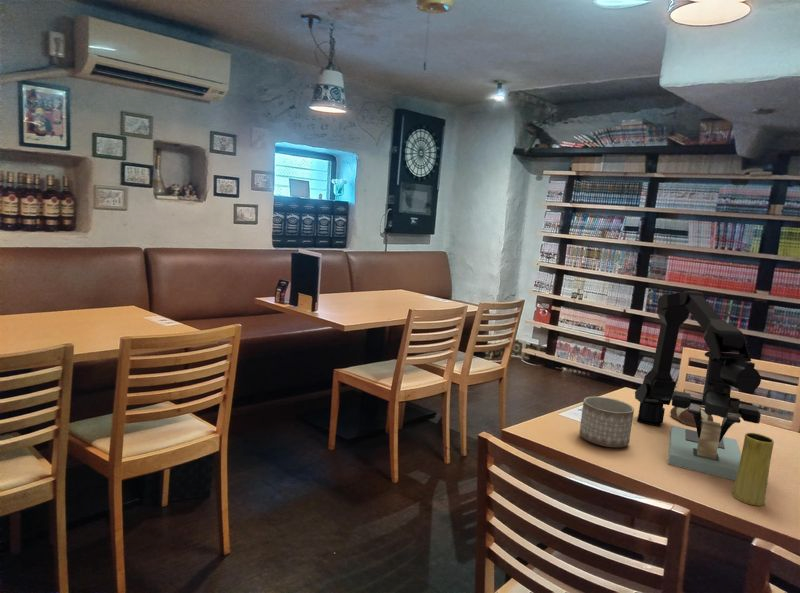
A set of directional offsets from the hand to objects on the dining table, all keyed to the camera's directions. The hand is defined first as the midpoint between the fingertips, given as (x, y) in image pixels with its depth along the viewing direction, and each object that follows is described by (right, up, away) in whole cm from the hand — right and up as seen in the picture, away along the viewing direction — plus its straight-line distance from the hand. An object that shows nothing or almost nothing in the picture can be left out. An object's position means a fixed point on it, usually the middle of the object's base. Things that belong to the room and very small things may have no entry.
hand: (708, 439), depth 134 cm
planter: (-22, -4, +11) cm, 25 cm away
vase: (0, -9, -16) cm, 18 cm away
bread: (+14, -3, +33) cm, 36 cm away
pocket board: (+2, -6, +6) cm, 9 cm away
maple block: (0, -4, +1) cm, 4 cm away
